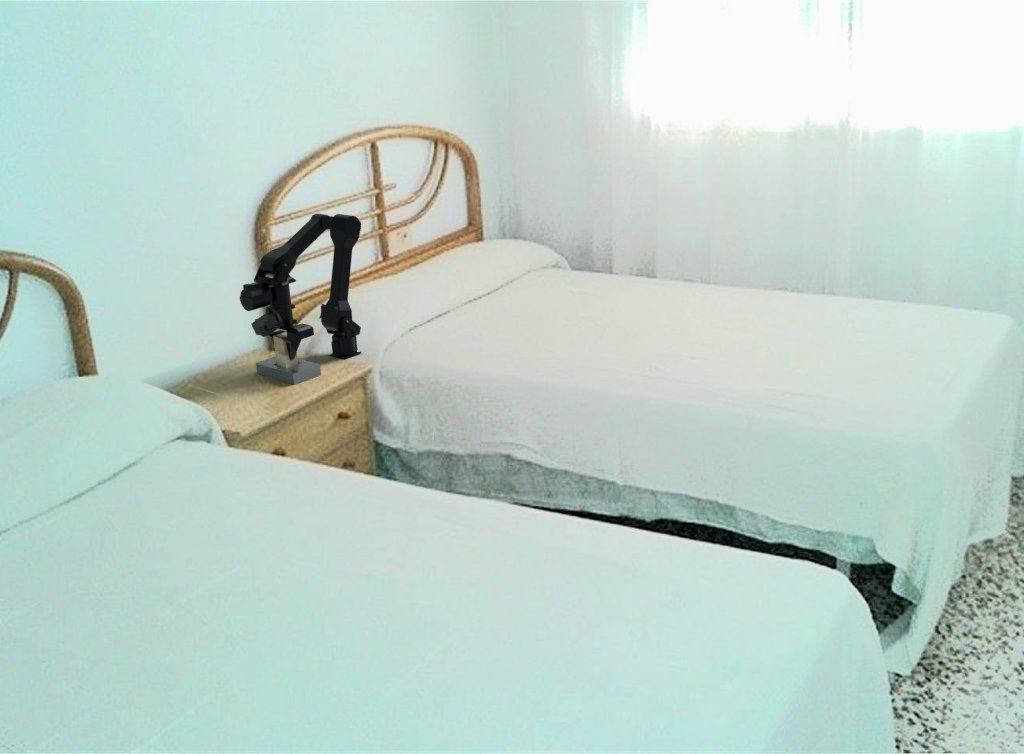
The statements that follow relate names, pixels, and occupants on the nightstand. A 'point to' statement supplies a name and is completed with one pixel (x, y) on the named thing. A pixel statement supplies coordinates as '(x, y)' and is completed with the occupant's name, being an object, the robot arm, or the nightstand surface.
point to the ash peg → (283, 352)
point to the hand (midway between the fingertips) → (287, 358)
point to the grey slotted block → (288, 370)
